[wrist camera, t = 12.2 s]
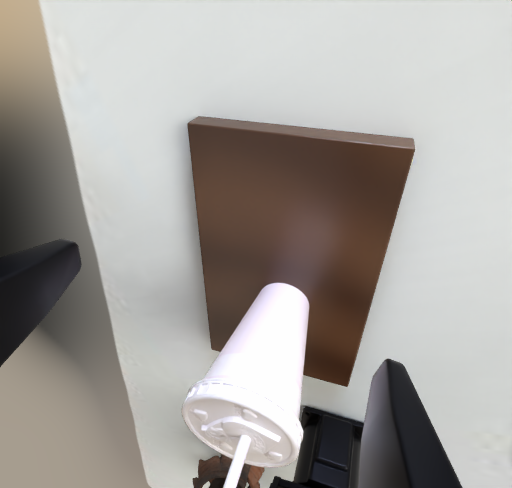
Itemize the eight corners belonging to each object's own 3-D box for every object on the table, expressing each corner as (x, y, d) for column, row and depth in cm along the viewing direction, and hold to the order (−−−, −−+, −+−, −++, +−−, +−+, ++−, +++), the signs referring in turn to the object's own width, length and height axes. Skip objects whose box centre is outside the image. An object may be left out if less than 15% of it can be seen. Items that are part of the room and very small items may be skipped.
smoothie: (340, 331, 25) (299, 591, 14) (261, 335, 28) (177, 552, 17) (312, 261, 22) (234, 517, 11) (227, 273, 25) (102, 486, 14)
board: (349, 372, 30) (347, 387, 28) (217, 336, 32) (211, 349, 31) (414, 138, 18) (415, 148, 17) (198, 115, 21) (186, 123, 19)
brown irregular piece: (192, 444, 49) (170, 491, 41) (243, 409, 48) (231, 450, 40) (244, 511, 49) (232, 571, 41) (298, 478, 48) (296, 534, 40)
